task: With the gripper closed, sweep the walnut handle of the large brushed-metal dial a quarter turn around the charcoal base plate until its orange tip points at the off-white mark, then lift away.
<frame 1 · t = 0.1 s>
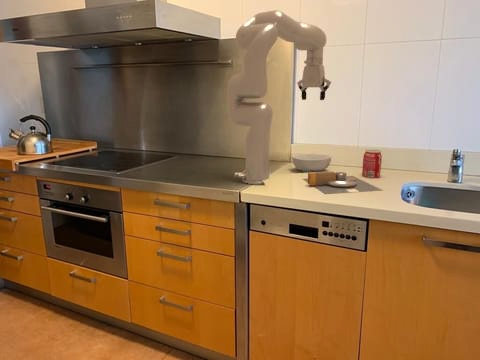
hand: (312, 99, 172), 31 cm above the countertop, tool pointing down, fingers open, 9 cm apart
cereal bowl: (310, 171, 163), on the countertop
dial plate: (339, 188, 135), on the countertop
dial: (332, 177, 134), point 4 cm above the countertop, hinge at 0.0°
soda can: (370, 180, 147), on the countertop
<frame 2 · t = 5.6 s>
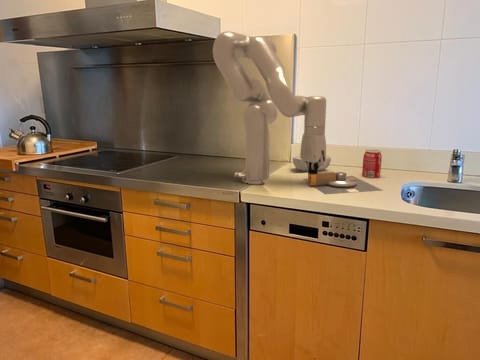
hand: (312, 179, 136), 3 cm above the countertop, tool pointing down, fingers closed
dial: (332, 177, 133), point 4 cm above the countertop, hinge at 1.8°, touching gripper
everything else where it was.
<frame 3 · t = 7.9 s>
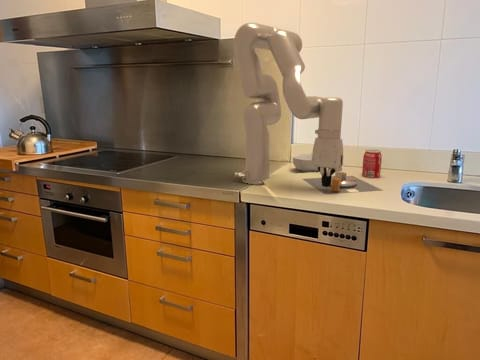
hand: (326, 185, 127), 3 cm above the countertop, tool pointing down, fingers closed
dial: (339, 179, 131), point 4 cm above the countertop, hinge at 55.8°, touching gripper
everything else where it was.
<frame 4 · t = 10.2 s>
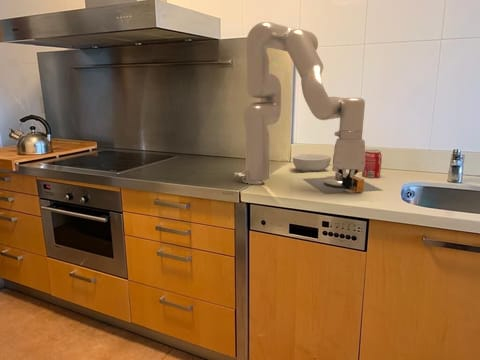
hand: (346, 187, 125), 3 cm above the countertop, tool pointing down, fingers closed
dial: (345, 179, 131), point 4 cm above the countertop, hinge at 96.0°, touching gripper
everything else where it was.
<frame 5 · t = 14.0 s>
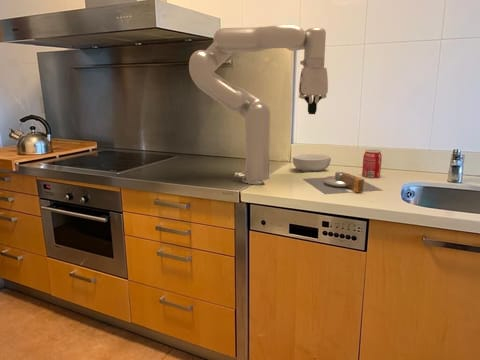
hand: (311, 113, 137), 27 cm above the countertop, tool pointing down, fingers closed
dial: (345, 179, 131), point 4 cm above the countertop, hinge at 96.1°
everything else where it was.
at the end: dial at +96° (first picture: +0°) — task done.
